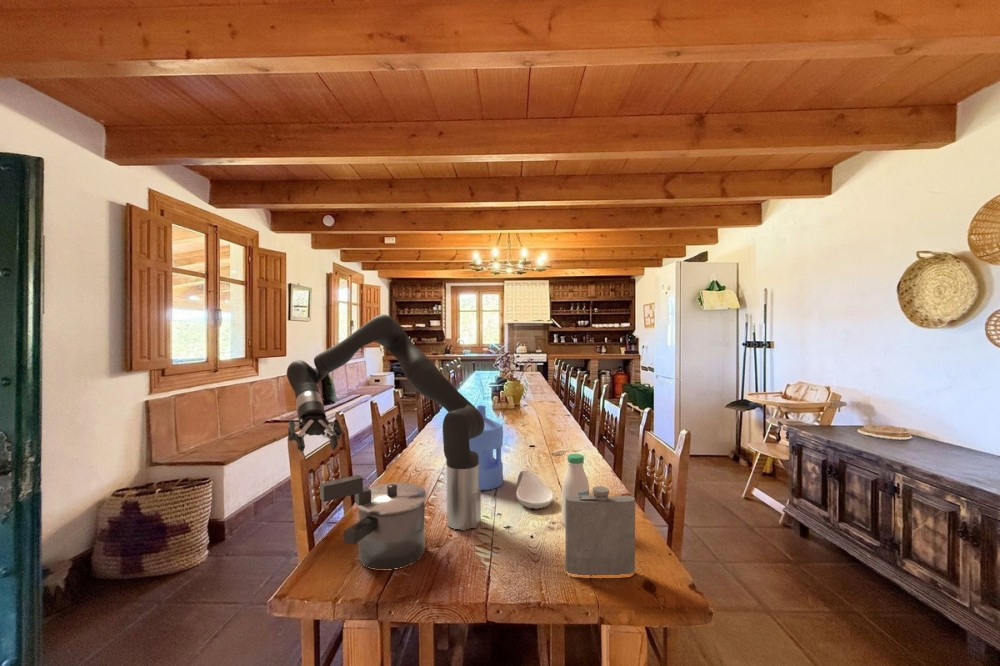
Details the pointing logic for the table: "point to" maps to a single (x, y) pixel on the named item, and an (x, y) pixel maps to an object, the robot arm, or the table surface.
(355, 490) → the pressure cooker lid
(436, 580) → the table surface
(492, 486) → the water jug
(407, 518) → the pressure cooker pot
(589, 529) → the hip flask
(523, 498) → the spoon rest
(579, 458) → the milk bottle
